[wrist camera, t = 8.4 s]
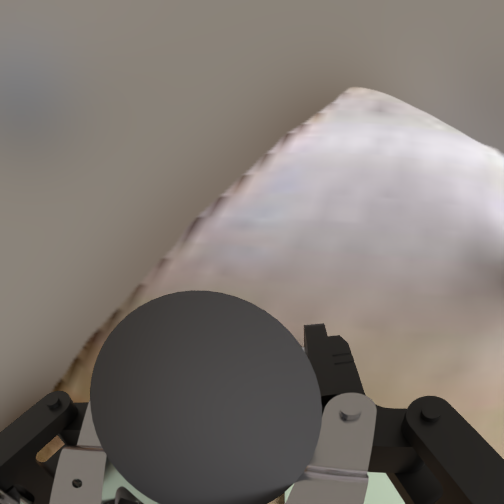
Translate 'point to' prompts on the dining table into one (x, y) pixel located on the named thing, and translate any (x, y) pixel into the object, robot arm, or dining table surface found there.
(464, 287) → the dining table surface
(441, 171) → the dining table surface
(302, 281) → the dining table surface
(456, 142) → the dining table surface
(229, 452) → the orange-banded dark cylinder
